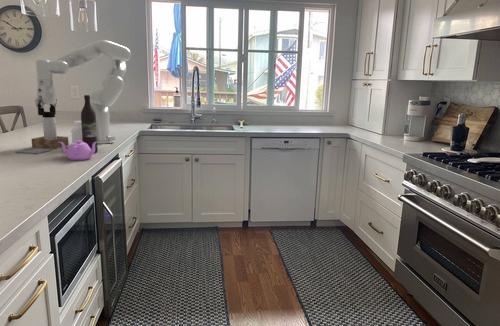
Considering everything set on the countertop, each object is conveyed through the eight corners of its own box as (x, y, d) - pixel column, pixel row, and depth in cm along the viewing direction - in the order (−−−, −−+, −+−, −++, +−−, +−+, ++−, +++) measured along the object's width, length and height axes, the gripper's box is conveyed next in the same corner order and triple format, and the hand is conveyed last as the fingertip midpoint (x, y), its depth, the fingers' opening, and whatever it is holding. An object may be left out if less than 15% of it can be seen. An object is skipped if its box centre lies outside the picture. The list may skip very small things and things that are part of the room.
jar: (70, 149, 198) (68, 122, 195) (75, 146, 208) (73, 120, 204) (93, 149, 201) (91, 122, 197) (96, 146, 210) (95, 120, 207)
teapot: (98, 158, 180) (98, 140, 178) (70, 162, 169) (69, 143, 167) (87, 154, 187) (86, 137, 185) (59, 158, 177) (58, 140, 175)
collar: (68, 145, 211) (68, 136, 210) (54, 149, 198) (53, 140, 197) (47, 144, 212) (46, 135, 211) (32, 147, 199) (31, 138, 198)
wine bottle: (81, 153, 189) (77, 95, 182) (85, 151, 195) (81, 94, 189) (95, 153, 190) (92, 95, 183) (99, 151, 196) (96, 95, 190)
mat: (52, 150, 196) (52, 148, 195) (37, 154, 184) (37, 153, 184) (31, 148, 197) (31, 147, 196) (15, 152, 185) (15, 151, 185)
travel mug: (42, 146, 205) (39, 110, 200) (55, 145, 209) (52, 110, 205) (46, 147, 200) (43, 111, 196) (59, 146, 205) (56, 111, 201)
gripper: (41, 83, 188) (43, 116, 192) (61, 83, 205) (63, 114, 209) (27, 82, 189) (29, 115, 193) (49, 83, 206) (50, 113, 209)
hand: (47, 114), depth 201 cm, fingers open, 9 cm apart
